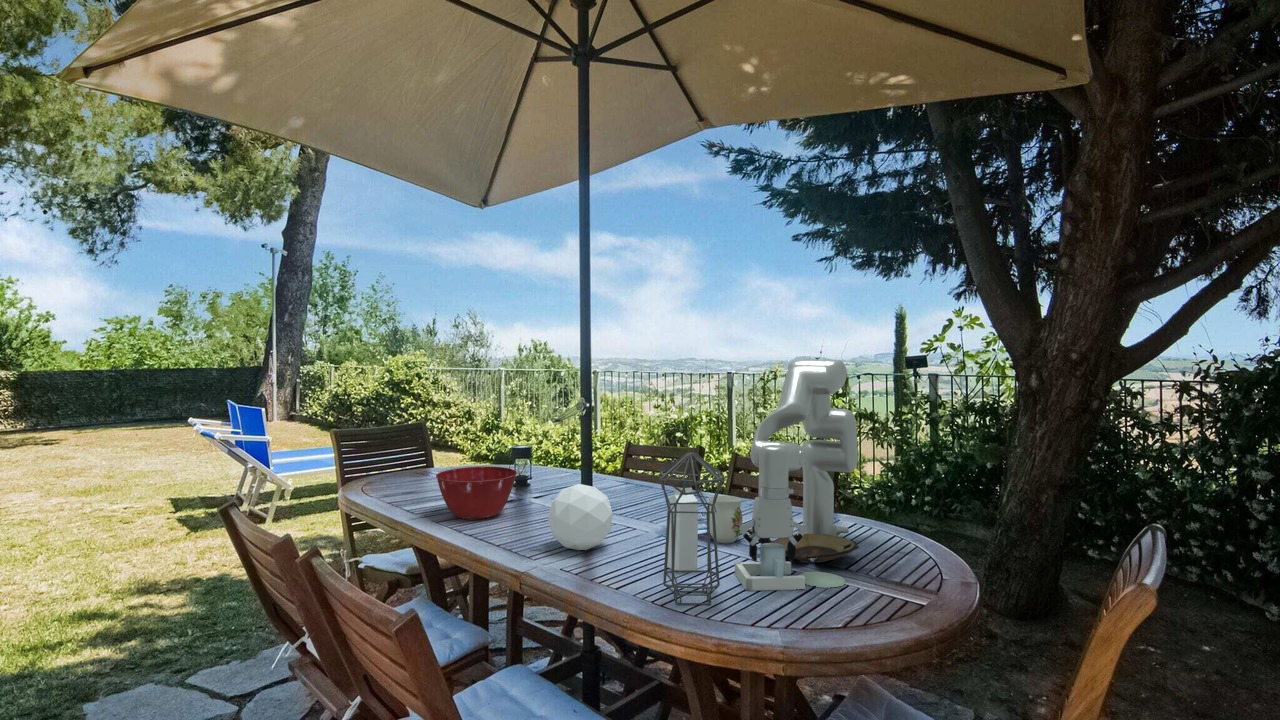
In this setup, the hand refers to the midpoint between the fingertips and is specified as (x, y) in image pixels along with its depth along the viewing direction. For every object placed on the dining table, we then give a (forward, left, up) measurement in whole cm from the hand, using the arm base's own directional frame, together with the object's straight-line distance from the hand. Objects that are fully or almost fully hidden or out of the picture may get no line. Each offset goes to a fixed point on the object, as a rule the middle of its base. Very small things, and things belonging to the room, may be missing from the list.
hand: (772, 559), depth 170 cm
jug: (0, +1, -6) cm, 6 cm away
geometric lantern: (+23, +10, -6) cm, 25 cm away
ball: (+50, -32, -6) cm, 60 cm away
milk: (+22, -11, -6) cm, 25 cm away
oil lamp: (-15, -20, -6) cm, 26 cm away
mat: (-13, 0, -6) cm, 14 cm away
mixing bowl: (+88, -74, -6) cm, 115 cm away
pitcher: (+4, -39, -6) cm, 40 cm away
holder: (+1, 0, -6) cm, 6 cm away
